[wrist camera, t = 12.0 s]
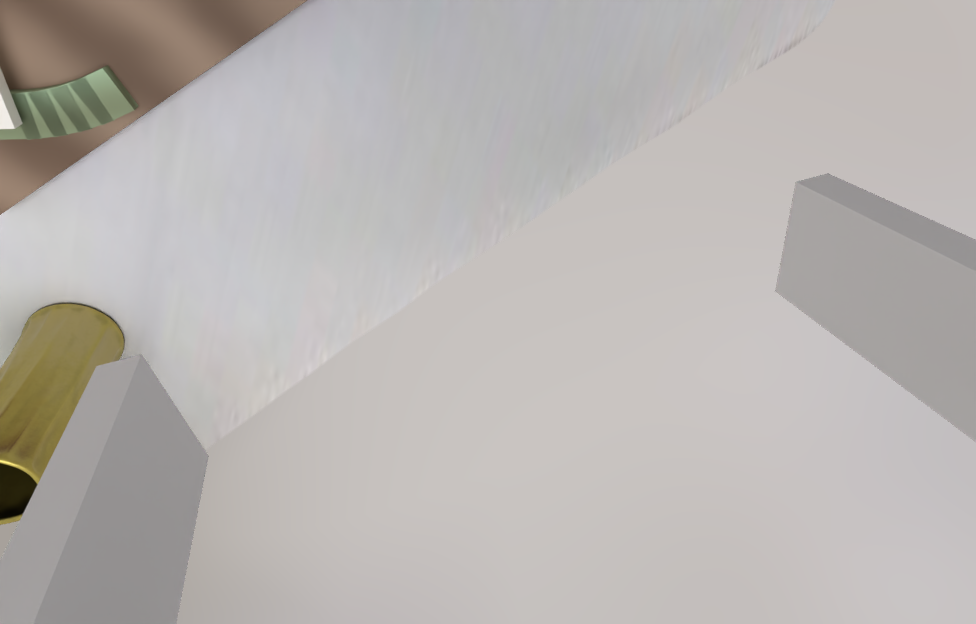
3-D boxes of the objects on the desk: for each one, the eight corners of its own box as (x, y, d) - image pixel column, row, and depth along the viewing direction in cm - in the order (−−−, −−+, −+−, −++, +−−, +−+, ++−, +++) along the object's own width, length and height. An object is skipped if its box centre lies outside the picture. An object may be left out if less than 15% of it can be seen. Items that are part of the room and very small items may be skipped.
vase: (50, 378, 42) (-47, 542, 31) (7, 310, 39) (-121, 467, 27) (138, 362, 43) (76, 514, 32) (104, 294, 40) (21, 439, 28)
